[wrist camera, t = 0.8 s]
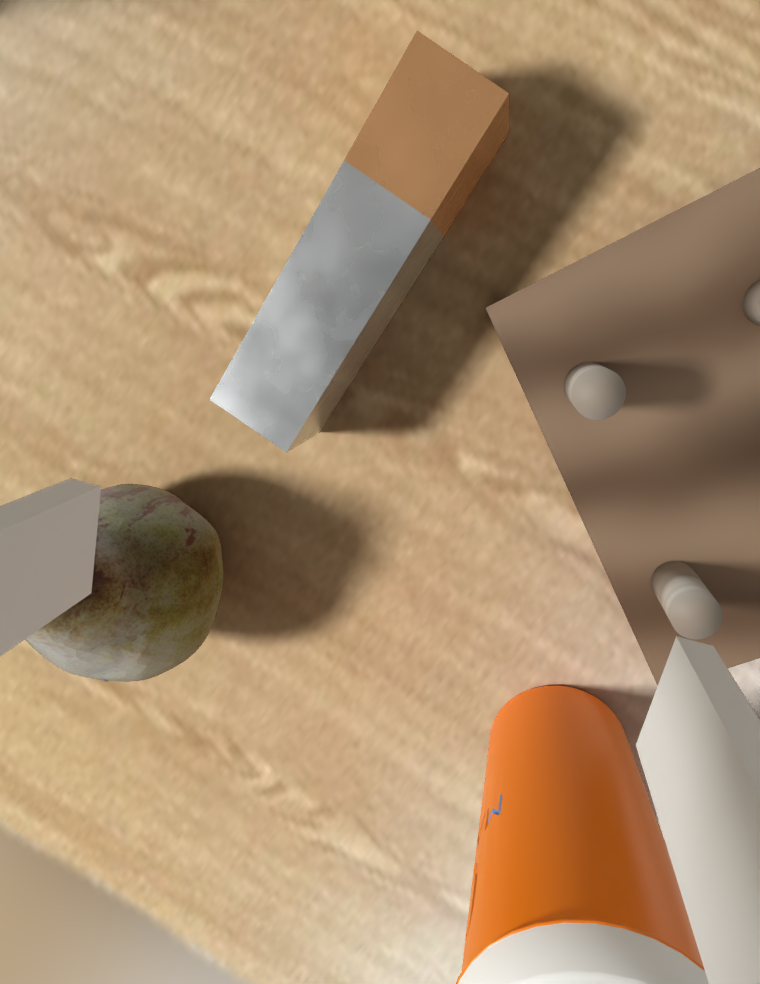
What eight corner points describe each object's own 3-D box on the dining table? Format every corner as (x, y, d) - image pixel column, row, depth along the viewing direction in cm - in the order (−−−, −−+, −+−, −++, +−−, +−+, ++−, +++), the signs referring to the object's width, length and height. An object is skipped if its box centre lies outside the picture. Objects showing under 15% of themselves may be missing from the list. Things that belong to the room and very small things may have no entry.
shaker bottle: (612, 646, 35) (742, 1049, 16) (669, 795, 36) (851, 1332, 17) (447, 693, 37) (383, 1096, 18) (506, 831, 38) (506, 1342, 19)
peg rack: (486, 308, 32) (482, 306, 26) (776, 160, 28) (837, 124, 23) (653, 675, 35) (679, 738, 29) (935, 581, 31) (1022, 634, 26)
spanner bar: (319, 432, 35) (286, 452, 29) (254, 387, 35) (209, 399, 29) (508, 133, 30) (508, 93, 25) (433, 81, 30) (417, 30, 25)
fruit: (229, 454, 36) (98, 517, 24) (274, 619, 38) (172, 751, 26) (60, 488, 38) (-132, 561, 27) (111, 642, 40) (-49, 773, 28)
